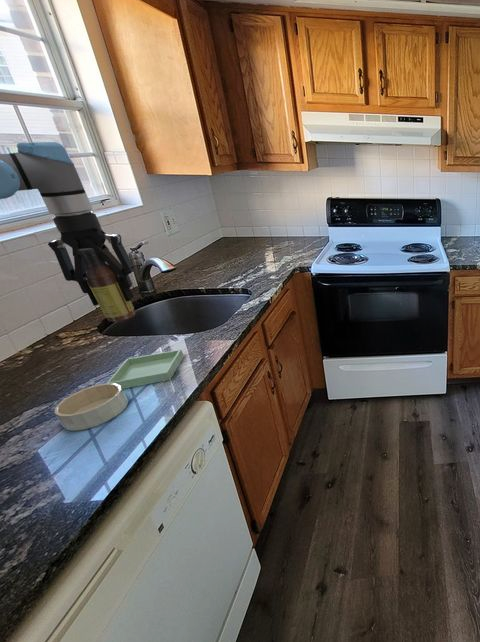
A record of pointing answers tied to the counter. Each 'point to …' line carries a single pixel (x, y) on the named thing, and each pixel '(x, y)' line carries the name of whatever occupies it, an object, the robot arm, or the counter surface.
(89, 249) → the sauce bottle
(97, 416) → the bowl
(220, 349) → the counter surface
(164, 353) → the tray
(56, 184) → the robot arm
